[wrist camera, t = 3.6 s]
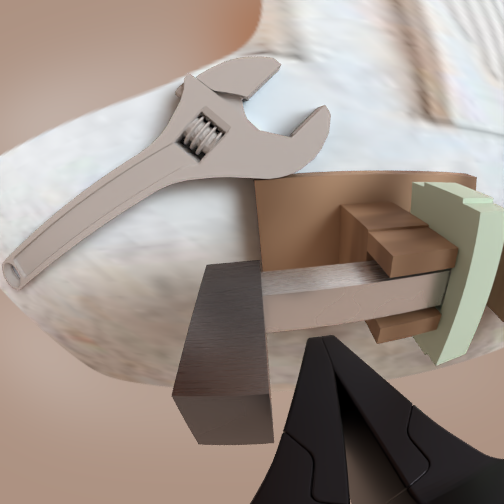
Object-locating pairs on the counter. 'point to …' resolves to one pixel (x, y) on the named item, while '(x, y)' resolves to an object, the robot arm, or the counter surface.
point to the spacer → (460, 261)
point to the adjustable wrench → (181, 159)
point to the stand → (360, 232)
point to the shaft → (274, 320)
